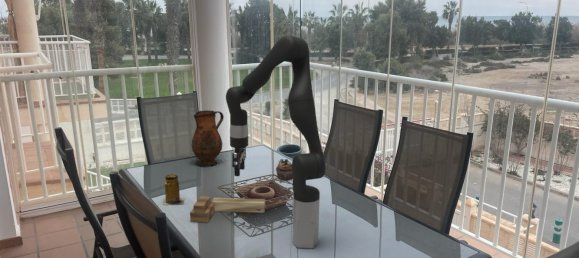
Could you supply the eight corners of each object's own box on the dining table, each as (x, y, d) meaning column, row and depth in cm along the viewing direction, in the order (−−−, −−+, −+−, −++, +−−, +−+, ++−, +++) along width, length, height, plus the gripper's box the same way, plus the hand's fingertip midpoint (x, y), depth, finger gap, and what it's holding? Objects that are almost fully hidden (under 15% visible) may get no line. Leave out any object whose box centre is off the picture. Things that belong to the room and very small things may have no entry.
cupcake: (297, 180, 219) (297, 161, 217) (279, 182, 215) (279, 163, 213) (290, 174, 228) (290, 156, 225) (273, 176, 224) (273, 157, 222)
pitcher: (186, 164, 241) (183, 112, 234) (213, 156, 257) (212, 107, 251) (206, 170, 231) (204, 116, 224) (234, 161, 248) (233, 110, 241)
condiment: (166, 198, 193) (165, 173, 190) (185, 198, 194) (184, 172, 191) (163, 205, 186) (161, 178, 183) (183, 204, 187) (182, 178, 184)
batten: (264, 213, 180) (264, 203, 179) (212, 212, 180) (211, 202, 179) (265, 208, 184) (265, 199, 183) (214, 207, 185) (214, 197, 184)
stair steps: (207, 222, 170) (207, 206, 168) (190, 221, 170) (189, 205, 169) (214, 212, 179) (214, 196, 178) (198, 211, 180) (197, 195, 178)
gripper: (244, 139, 168) (244, 178, 172) (251, 131, 182) (251, 167, 185) (225, 138, 169) (226, 177, 172) (234, 130, 182) (234, 166, 186)
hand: (239, 172), depth 179 cm, fingers open, 8 cm apart
